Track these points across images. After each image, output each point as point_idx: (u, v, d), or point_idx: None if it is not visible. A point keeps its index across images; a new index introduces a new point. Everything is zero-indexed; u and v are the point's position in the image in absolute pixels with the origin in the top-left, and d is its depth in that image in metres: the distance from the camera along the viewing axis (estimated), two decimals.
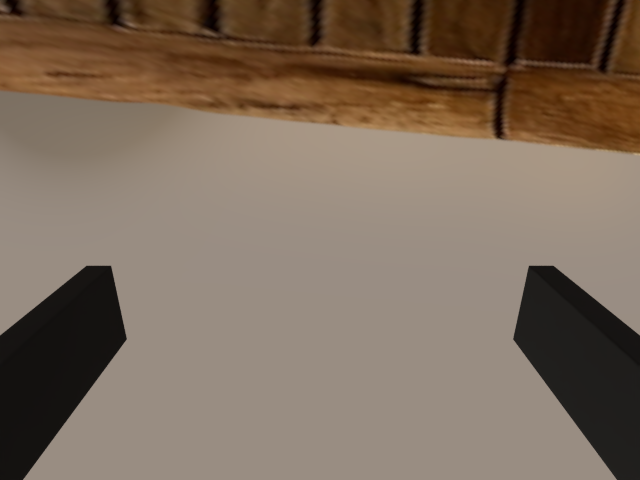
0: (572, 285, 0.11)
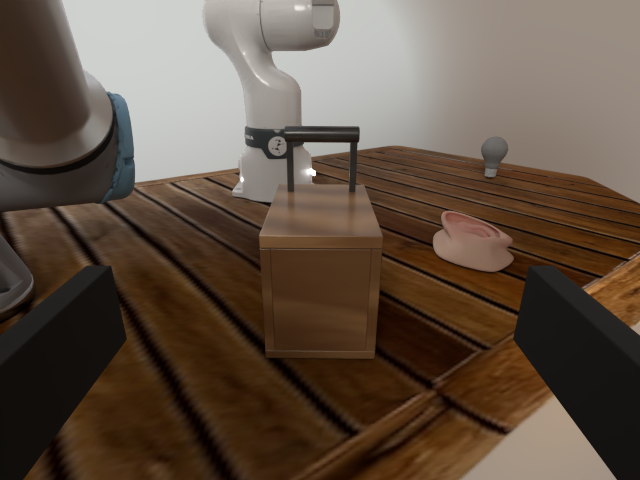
0: (572, 285, 0.11)
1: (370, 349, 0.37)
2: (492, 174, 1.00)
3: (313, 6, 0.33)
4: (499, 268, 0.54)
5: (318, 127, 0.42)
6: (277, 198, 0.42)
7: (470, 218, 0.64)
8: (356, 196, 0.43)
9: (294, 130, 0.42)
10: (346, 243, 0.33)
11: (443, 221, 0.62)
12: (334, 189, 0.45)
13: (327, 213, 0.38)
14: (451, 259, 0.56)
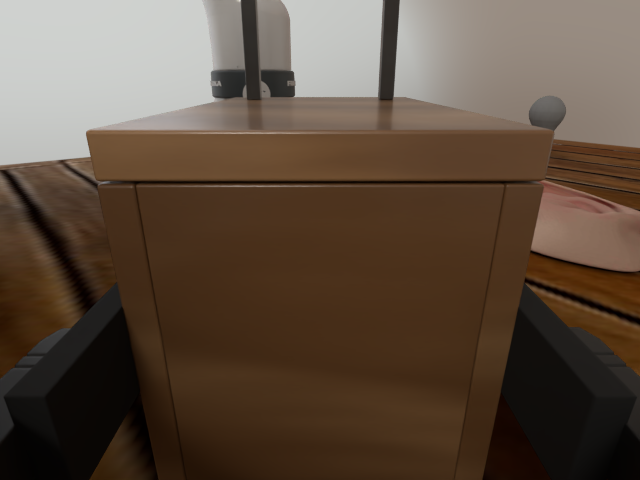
0: None
1: None
2: None
3: None
4: None
5: None
6: (217, 103, 0.18)
7: (558, 187, 0.40)
8: (400, 101, 0.19)
9: None
10: (415, 160, 0.09)
11: None
12: None
13: (336, 110, 0.14)
14: (549, 251, 0.32)
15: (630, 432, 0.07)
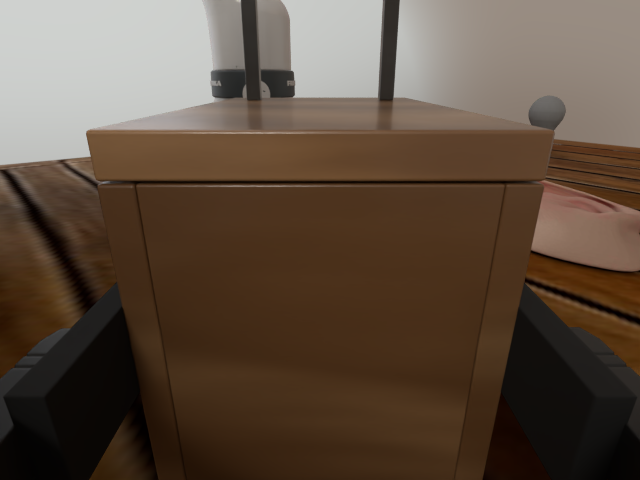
0: None
1: None
2: None
3: None
4: None
5: None
6: (217, 103, 0.18)
7: (558, 187, 0.40)
8: (400, 102, 0.19)
9: None
10: (415, 160, 0.09)
11: None
12: (347, 99, 0.22)
13: (336, 111, 0.14)
14: (548, 250, 0.32)
15: (631, 432, 0.07)
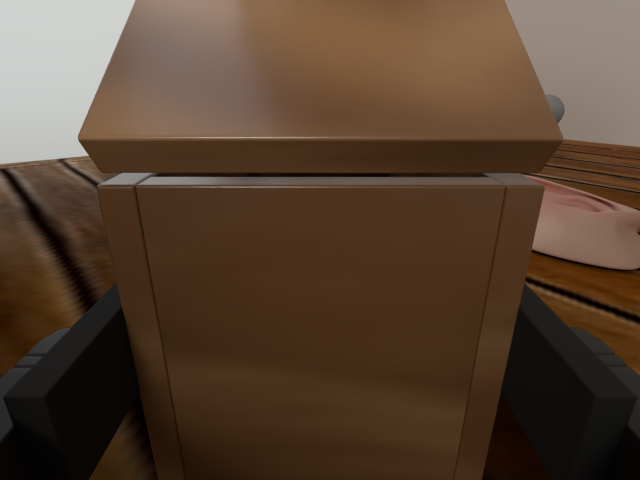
0: None
1: None
2: None
3: None
4: None
5: None
6: None
7: (556, 186, 0.40)
8: None
9: None
10: (415, 160, 0.09)
11: None
12: None
13: None
14: (546, 249, 0.32)
15: (631, 431, 0.07)
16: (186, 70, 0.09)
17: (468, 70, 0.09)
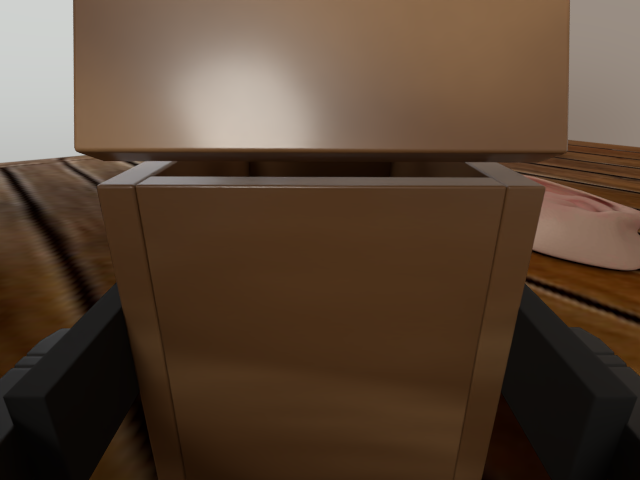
0: None
1: None
2: None
3: None
4: None
5: None
6: None
7: (557, 186, 0.40)
8: None
9: None
10: (416, 159, 0.09)
11: None
12: None
13: None
14: (547, 249, 0.32)
15: (630, 432, 0.07)
16: (166, 43, 0.08)
17: (492, 44, 0.08)
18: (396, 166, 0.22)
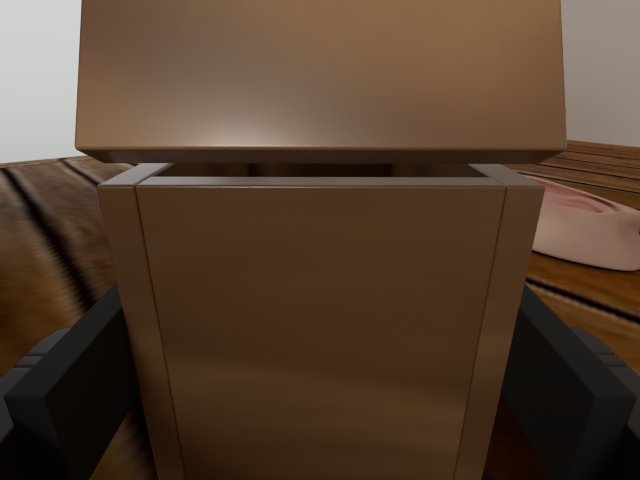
0: None
1: None
2: None
3: None
4: None
5: None
6: None
7: (558, 186, 0.40)
8: None
9: None
10: (415, 159, 0.09)
11: None
12: None
13: None
14: (548, 249, 0.32)
15: (630, 432, 0.07)
16: (170, 46, 0.08)
17: (487, 46, 0.08)
18: (396, 166, 0.22)
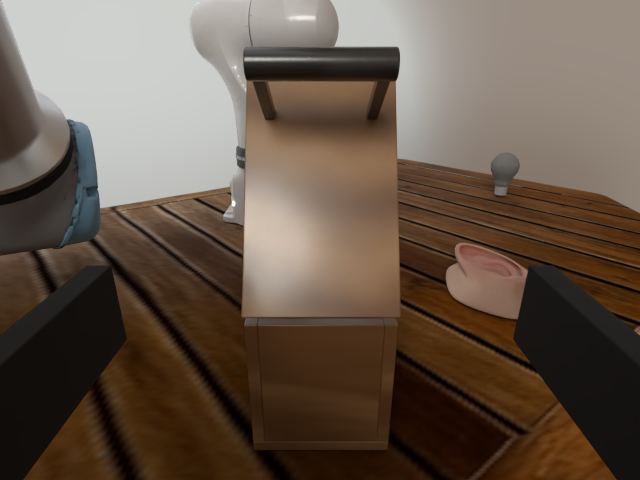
0: (572, 285, 0.11)
1: (383, 440, 0.30)
2: (503, 192, 0.94)
3: None
4: None
5: (314, 63, 0.20)
6: (251, 160, 0.27)
7: (487, 251, 0.57)
8: (377, 146, 0.27)
9: (264, 72, 0.20)
10: None
11: (457, 256, 0.55)
12: (343, 105, 0.27)
13: (329, 232, 0.26)
14: (469, 303, 0.49)
15: None
16: (272, 283, 0.26)
17: (375, 283, 0.26)
18: None
